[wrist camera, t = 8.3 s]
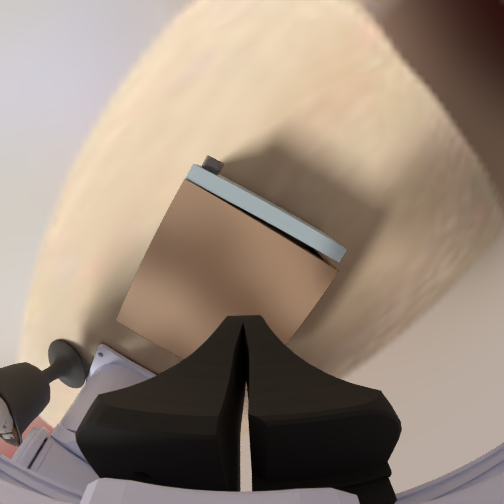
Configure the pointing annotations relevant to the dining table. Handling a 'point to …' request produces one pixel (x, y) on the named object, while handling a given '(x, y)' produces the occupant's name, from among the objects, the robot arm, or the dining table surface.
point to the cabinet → (220, 274)
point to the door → (262, 208)
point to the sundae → (34, 389)
